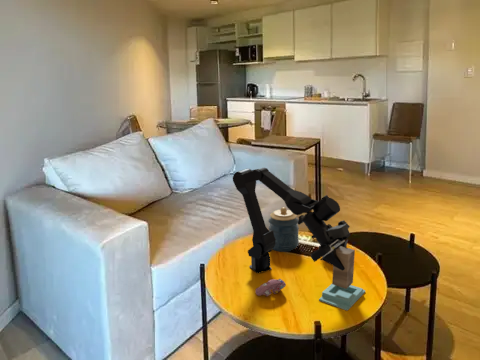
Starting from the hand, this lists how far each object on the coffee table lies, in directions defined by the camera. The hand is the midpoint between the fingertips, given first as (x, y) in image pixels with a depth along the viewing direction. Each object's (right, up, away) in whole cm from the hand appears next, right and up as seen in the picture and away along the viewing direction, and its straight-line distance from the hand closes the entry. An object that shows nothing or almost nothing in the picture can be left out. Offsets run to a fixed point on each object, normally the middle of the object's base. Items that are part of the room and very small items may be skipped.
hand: (347, 266), depth 136 cm
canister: (-16, 0, +44) cm, 47 cm away
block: (-1, -6, +3) cm, 7 cm away
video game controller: (-25, -11, +6) cm, 28 cm away
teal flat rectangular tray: (-1, -11, +4) cm, 11 cm away
